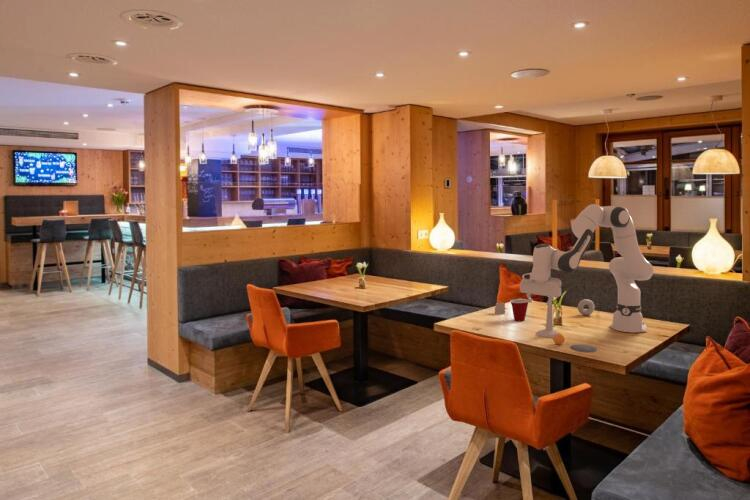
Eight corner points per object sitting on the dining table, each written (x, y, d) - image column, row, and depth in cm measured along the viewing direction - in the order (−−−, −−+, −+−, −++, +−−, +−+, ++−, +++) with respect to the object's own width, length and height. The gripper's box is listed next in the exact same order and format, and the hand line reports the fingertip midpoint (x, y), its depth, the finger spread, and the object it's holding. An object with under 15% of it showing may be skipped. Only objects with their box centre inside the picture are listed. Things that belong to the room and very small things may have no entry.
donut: (578, 316, 335) (578, 299, 334) (576, 314, 338) (577, 298, 337) (595, 316, 334) (595, 299, 333) (593, 314, 338) (593, 298, 337)
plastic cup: (513, 317, 332) (514, 297, 331) (531, 319, 326) (531, 299, 325) (506, 320, 324) (507, 300, 322) (524, 323, 317) (525, 302, 316)
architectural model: (494, 313, 344) (494, 301, 343) (505, 313, 344) (505, 301, 343) (495, 314, 341) (495, 303, 340) (506, 314, 341) (506, 302, 340)
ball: (554, 342, 279) (555, 331, 279) (565, 344, 276) (566, 333, 275) (551, 344, 275) (551, 333, 274) (562, 346, 272) (562, 335, 271)
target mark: (574, 343, 277) (574, 343, 277) (599, 347, 270) (599, 347, 270) (566, 349, 267) (566, 348, 267) (592, 353, 260) (592, 353, 260)
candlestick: (531, 332, 297) (533, 277, 294) (551, 330, 302) (553, 275, 298) (546, 339, 285) (548, 281, 282) (567, 336, 290) (569, 279, 286)
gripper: (564, 278, 274) (562, 305, 275) (524, 273, 286) (522, 300, 287) (559, 279, 269) (557, 307, 270) (519, 274, 281) (517, 301, 282)
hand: (539, 303), depth 279 cm, fingers open, 8 cm apart
